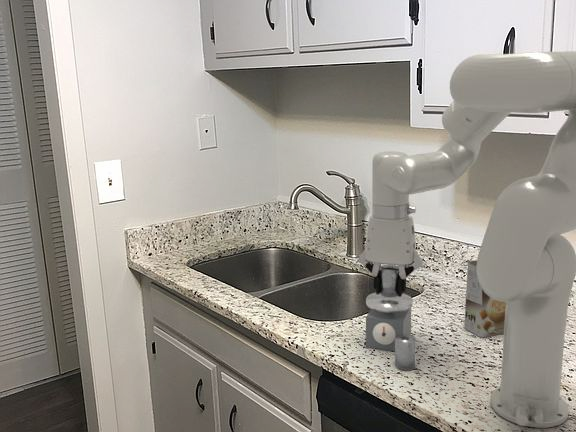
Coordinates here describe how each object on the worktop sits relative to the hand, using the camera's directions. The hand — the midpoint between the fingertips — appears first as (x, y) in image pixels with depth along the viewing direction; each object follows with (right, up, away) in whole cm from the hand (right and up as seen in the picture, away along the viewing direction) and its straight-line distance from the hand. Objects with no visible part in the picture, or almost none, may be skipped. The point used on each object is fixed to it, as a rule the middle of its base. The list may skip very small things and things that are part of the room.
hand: (389, 292), depth 130 cm
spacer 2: (+2, -14, -9) cm, 17 cm away
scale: (0, -11, +3) cm, 11 cm away
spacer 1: (0, 0, 0) cm, 0 cm away
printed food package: (+24, -9, +6) cm, 26 cm away
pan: (0, -4, +1) cm, 4 cm away
